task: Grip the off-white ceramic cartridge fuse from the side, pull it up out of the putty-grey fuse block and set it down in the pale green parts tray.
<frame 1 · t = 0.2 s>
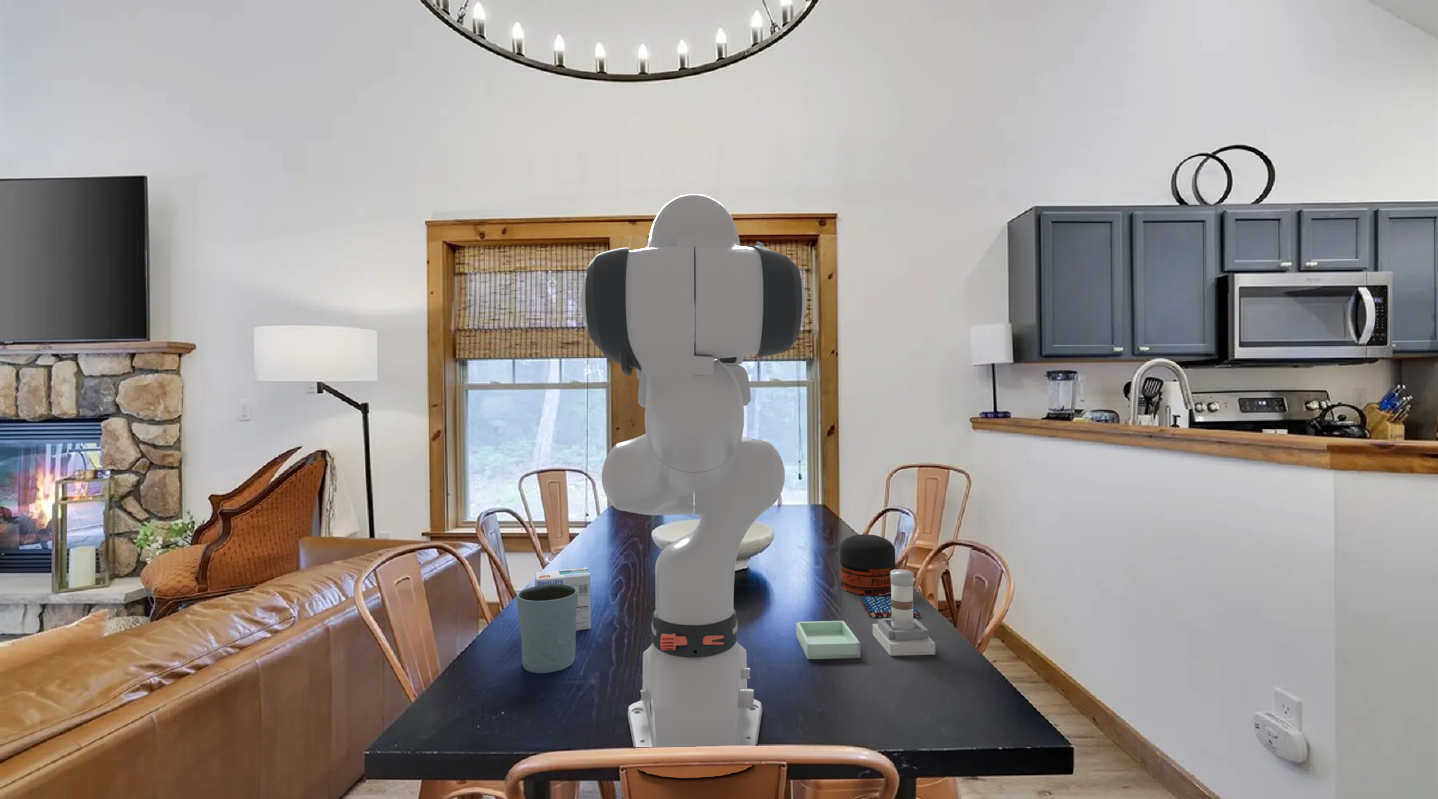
hand: (695, 431, 109), 39 cm above the table, tool pointing down, fingers open, 8 cm apart
fuse block: (902, 644, 110), on the table
green cup: (547, 663, 102), on the table
fuse: (902, 632, 110), point 2 cm above the table, touching fuse block
oil filter: (867, 588, 145), on the table
woven mat: (889, 613, 129), on the table
parts tray: (826, 645, 109), on the table
light bulb box: (562, 628, 119), on the table
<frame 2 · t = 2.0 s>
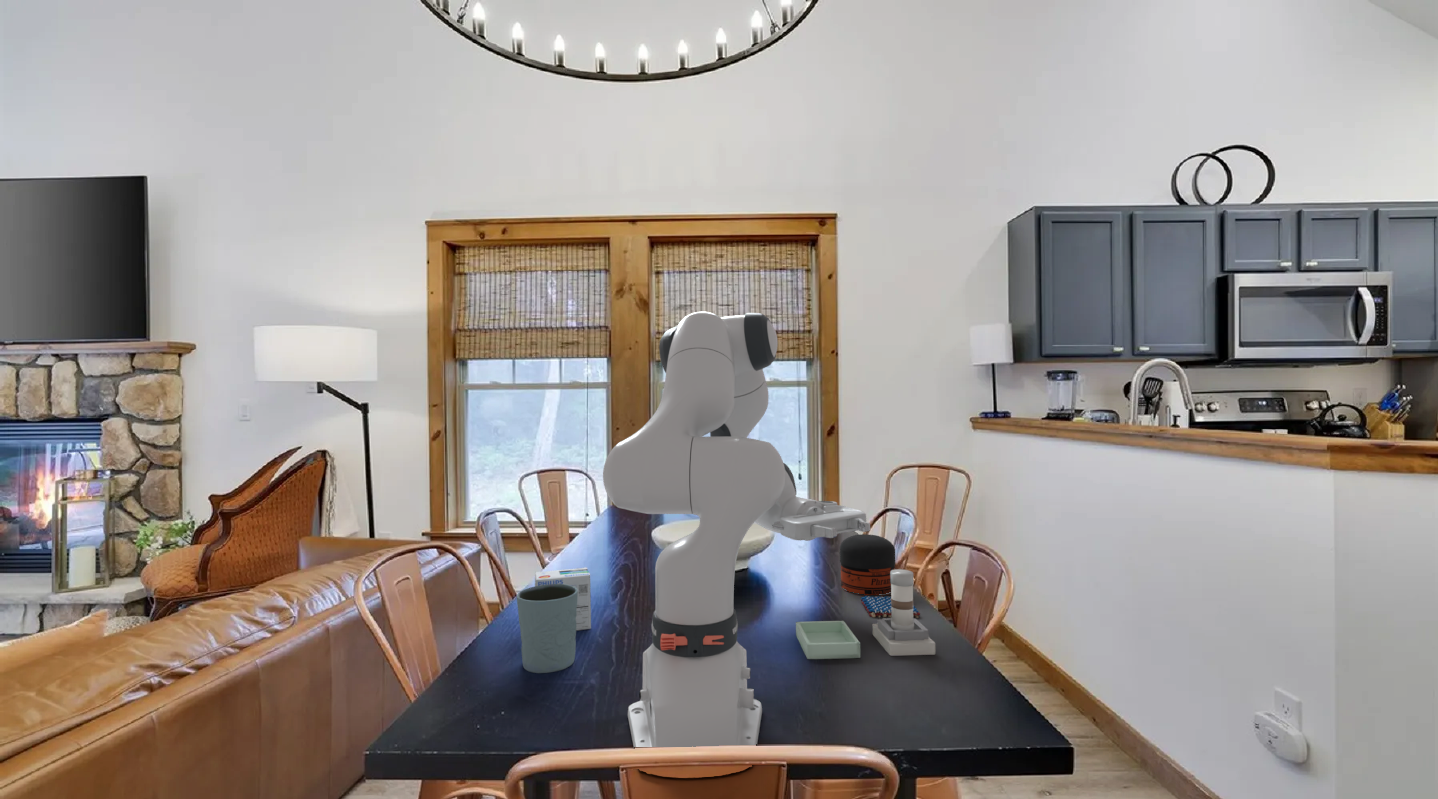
hand: (851, 530, 120), 19 cm above the table, tool horizontal, fingers open, 8 cm apart
nothing on the table moved.
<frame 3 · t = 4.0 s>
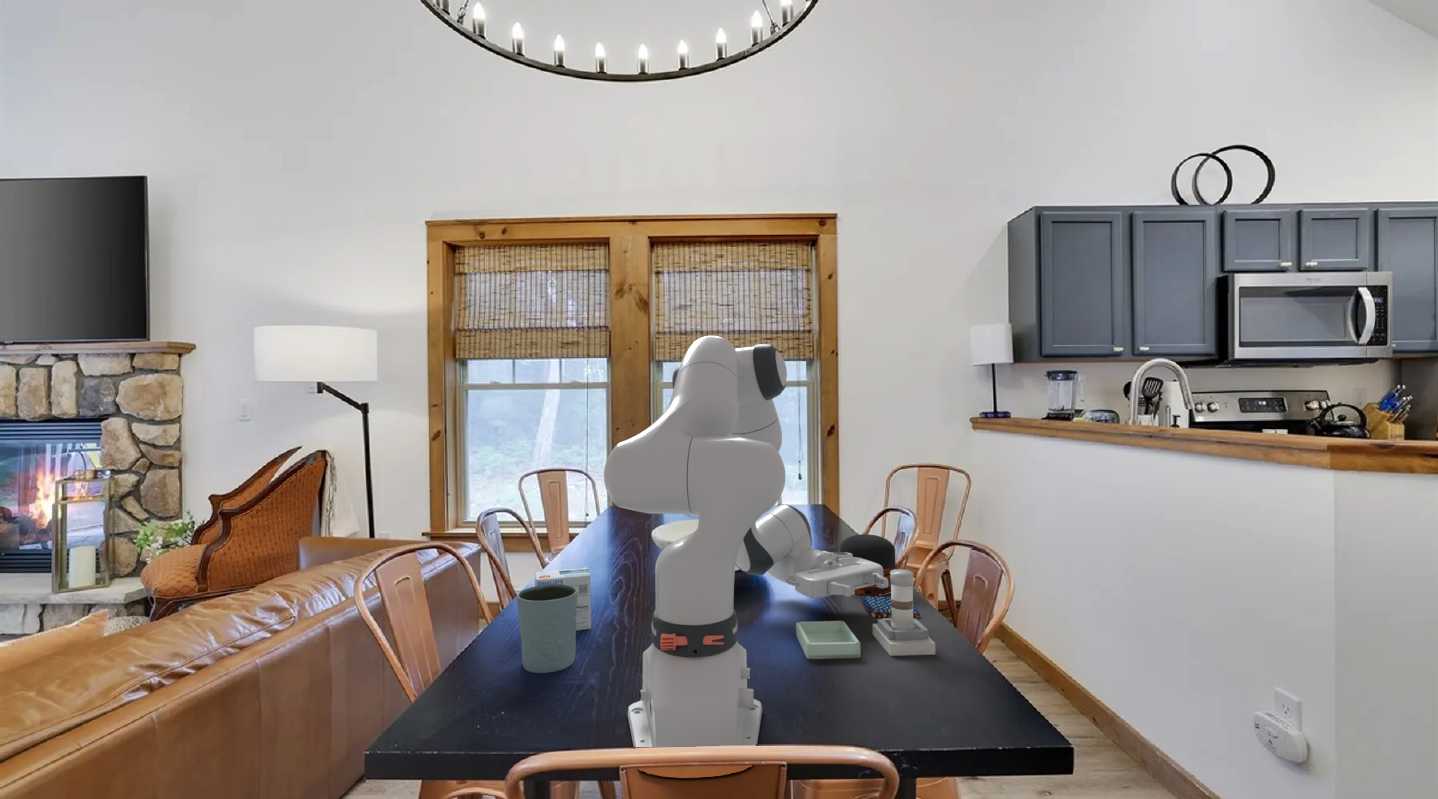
hand: (869, 587, 116), 8 cm above the table, tool horizontal, fingers open, 8 cm apart
nothing on the table moved.
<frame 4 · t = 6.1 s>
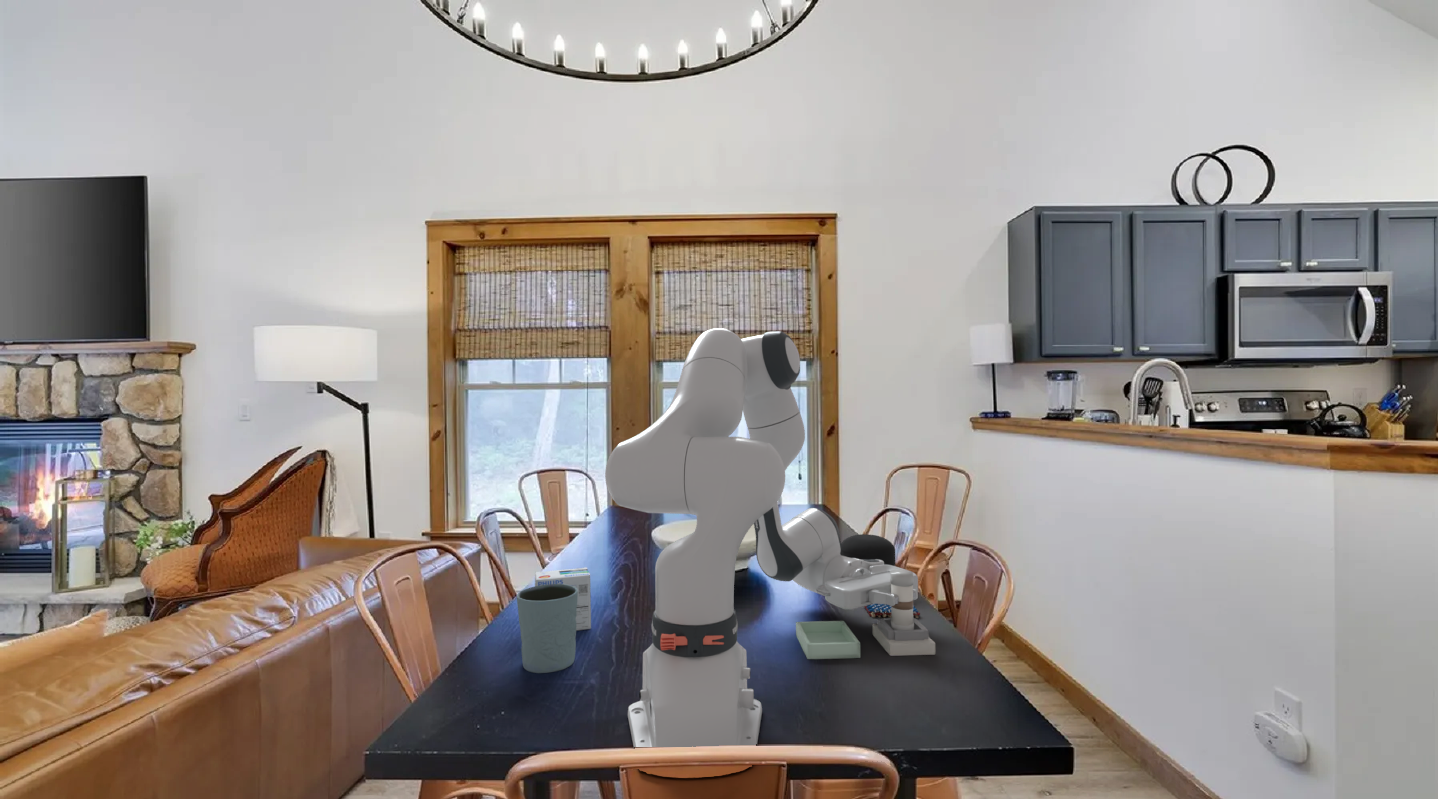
hand: (905, 598, 109), 9 cm above the table, tool horizontal, fingers closed on fuse, 4 cm apart
fuse: (902, 632, 110), point 2 cm above the table, touching fuse block, gripper
everything else where it was.
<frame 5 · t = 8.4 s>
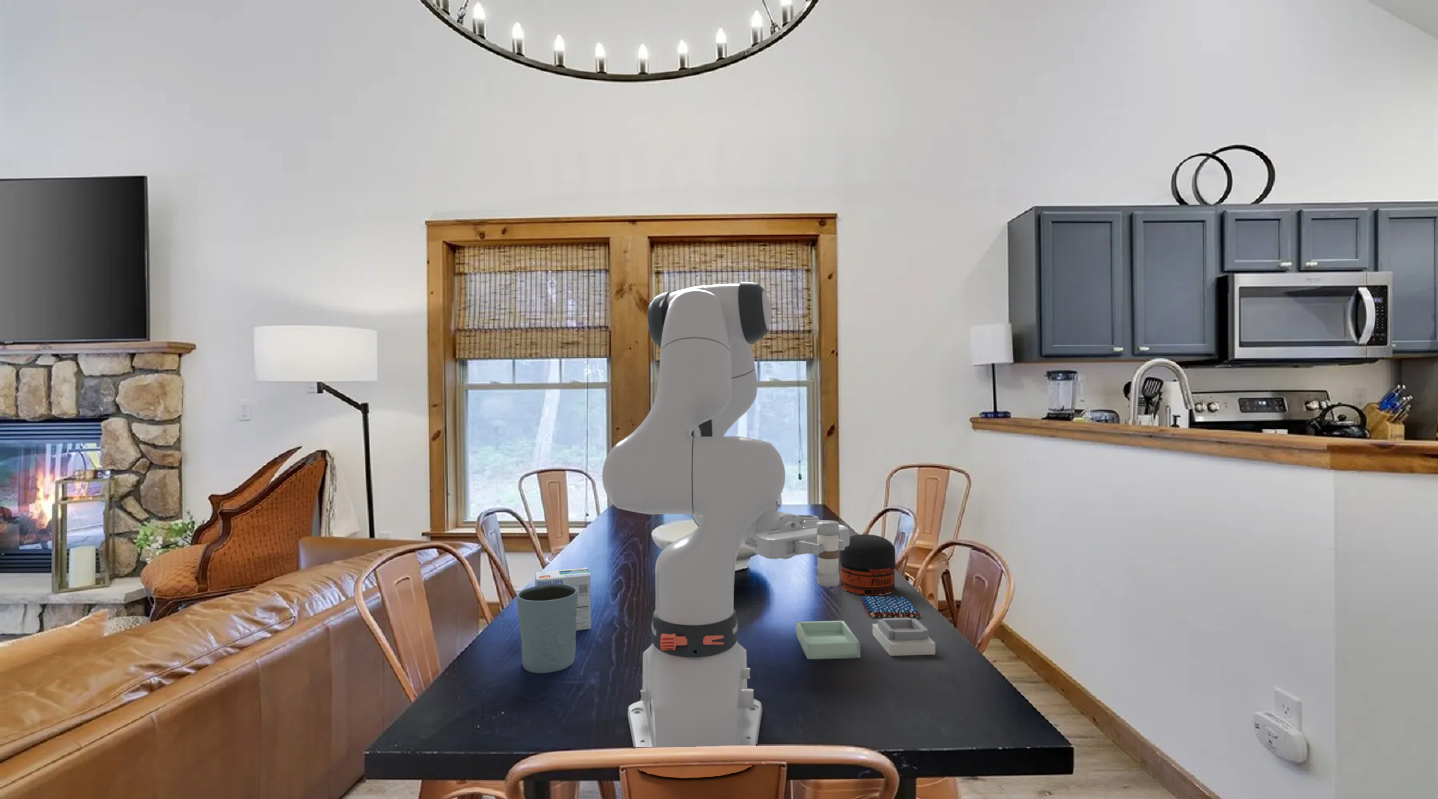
hand: (831, 548, 108), 18 cm above the table, tool horizontal, fingers closed on fuse, 4 cm apart
fuse: (828, 583, 109), point 11 cm above the table, touching gripper
everything else where it was.
when the fingers open (9 cm above the table, at t = 10.6 s): fuse drops 1 cm, resting on parts tray.
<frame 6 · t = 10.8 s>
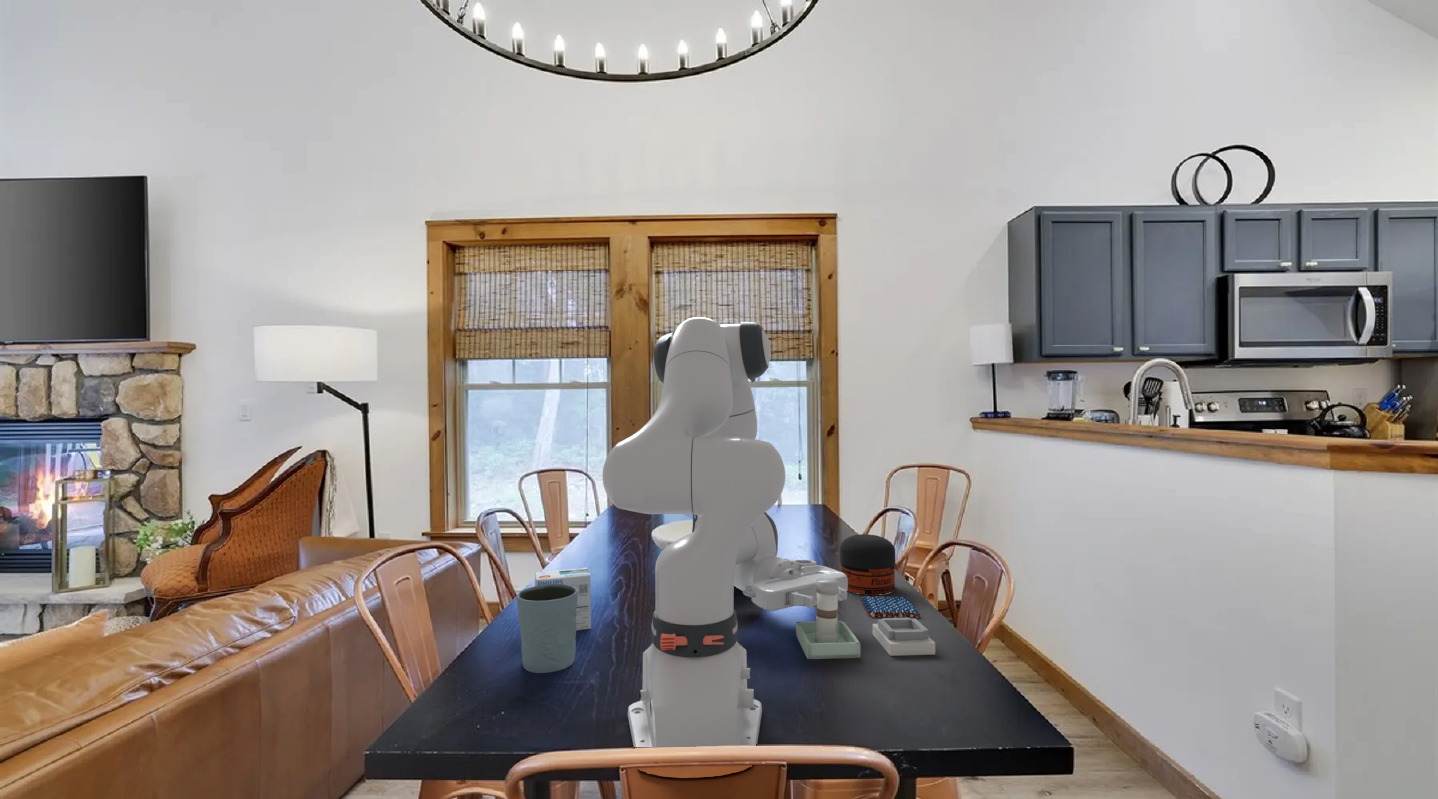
hand: (829, 599, 108), 9 cm above the table, tool horizontal, fingers open, 6 cm apart
fuse: (826, 642, 109), point 1 cm above the table, touching parts tray
everything else where it was.
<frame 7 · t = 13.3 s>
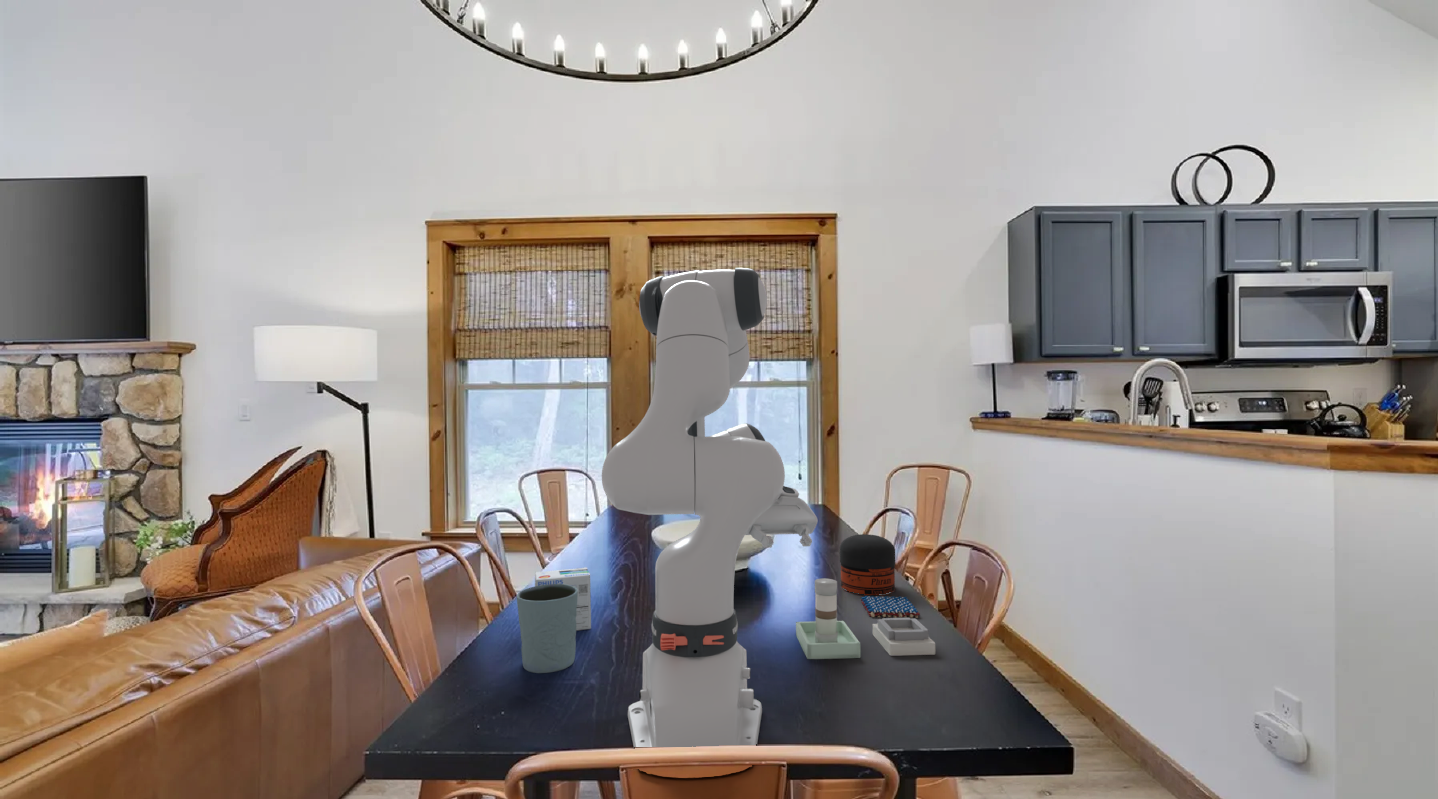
hand: (789, 544, 119), 16 cm above the table, tool tilted 60°, fingers open, 8 cm apart
nothing on the table moved.
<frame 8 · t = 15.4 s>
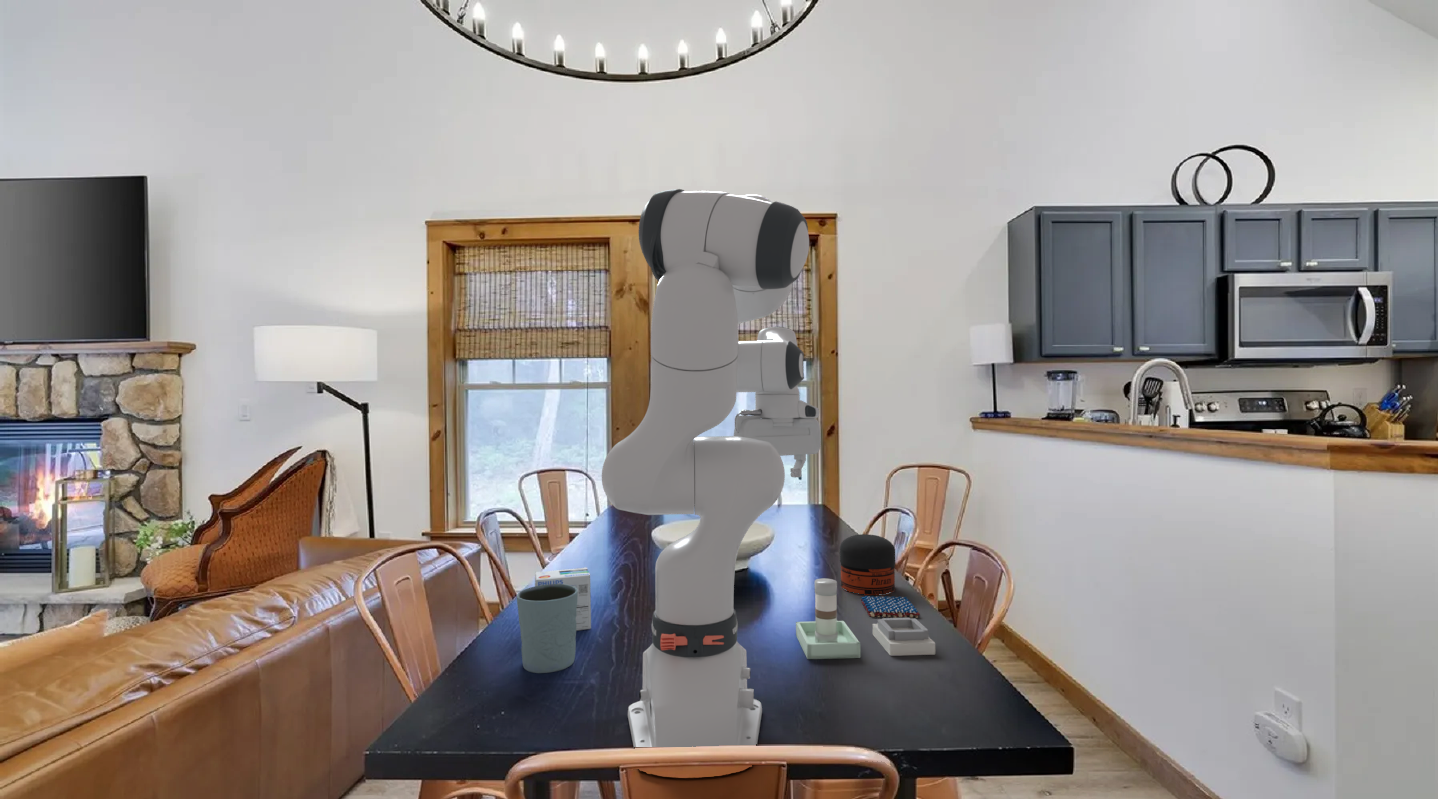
hand: (778, 478, 120), 29 cm above the table, tool pointing down, fingers open, 8 cm apart
nothing on the table moved.
at the end: fuse inside the target area on the parts tray (0.0 cm from its centre), point 0.6 cm above the parts tray's base; the gripper is holding nothing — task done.
